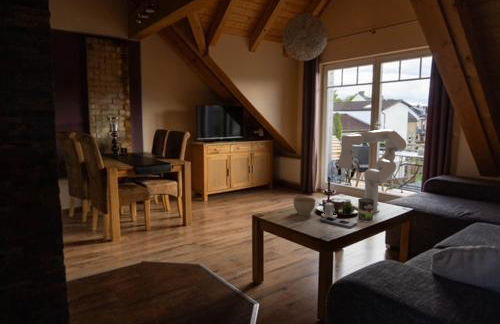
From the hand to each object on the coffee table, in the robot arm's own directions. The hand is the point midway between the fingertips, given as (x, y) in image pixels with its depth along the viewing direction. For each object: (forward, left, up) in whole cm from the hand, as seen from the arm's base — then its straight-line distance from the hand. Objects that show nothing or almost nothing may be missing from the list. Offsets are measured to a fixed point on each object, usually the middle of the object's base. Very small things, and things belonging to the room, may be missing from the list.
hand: (345, 176), depth 259 cm
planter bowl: (+19, -22, -28) cm, 41 cm away
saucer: (+11, -6, -28) cm, 31 cm away
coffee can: (+2, +17, -28) cm, 33 cm away
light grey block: (+11, -6, -28) cm, 30 cm away
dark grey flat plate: (+21, +7, -28) cm, 36 cm away
